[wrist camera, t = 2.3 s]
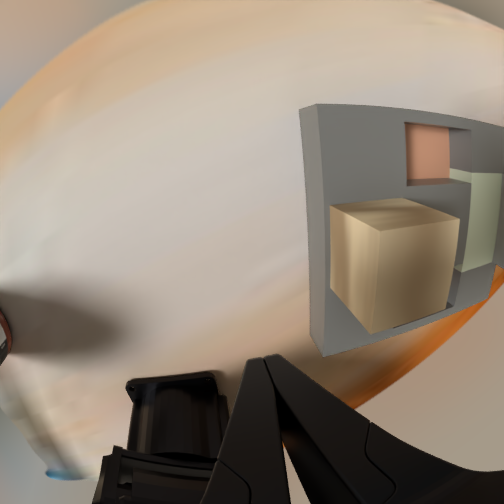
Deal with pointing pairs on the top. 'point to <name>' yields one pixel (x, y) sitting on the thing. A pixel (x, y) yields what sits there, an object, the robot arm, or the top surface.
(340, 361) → the top surface
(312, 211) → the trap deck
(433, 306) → the maple block
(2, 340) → the supplement bottle
